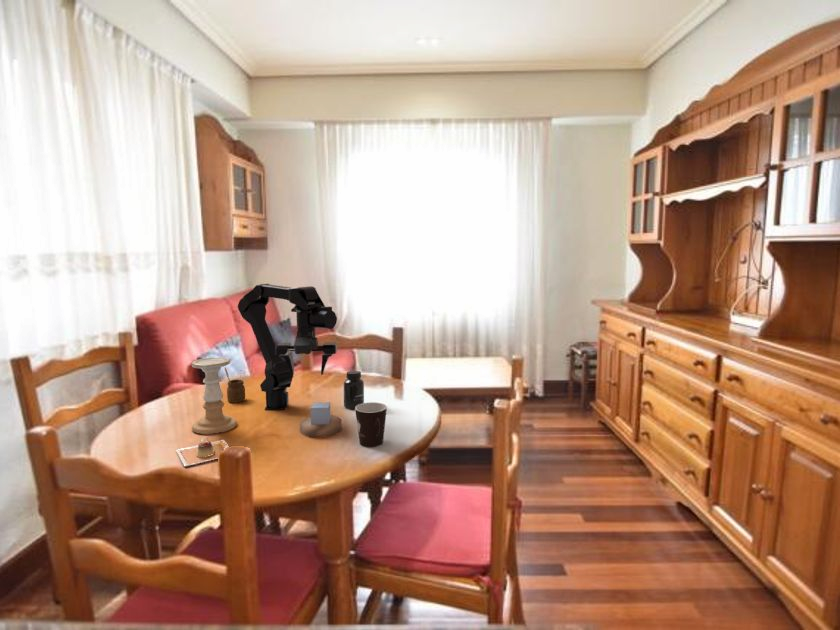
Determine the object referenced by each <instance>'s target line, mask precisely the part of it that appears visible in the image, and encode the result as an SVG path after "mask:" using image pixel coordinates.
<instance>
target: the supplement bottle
mask: <svg viewBox="0 0 840 630" xmlns="http://www.w3.org/2000/svg"><path fill="white" fill-rule="evenodd" d="M345 377H346V379H345V380H344V381H343V406H344V408H345V409H348V410H355V407H356V406H357V405H359V404H363V403H365V382H364V380H363V379H362V371H360V370H348V371H346V376H345Z"/></svg>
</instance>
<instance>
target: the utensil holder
mask: <svg viewBox="0 0 840 630" xmlns="http://www.w3.org/2000/svg"><path fill="white" fill-rule="evenodd" d="M224 371H225V374H226V377H227V379H228V381H227V388H226V395H227V396H226V399H227V402H228V403H232V404H236V403H241V402H244V401H245V400H246V387H245V385H244V380H243V379H244V376H241V375H242V374H245V371H243V369H240V370H238V371H237V375H239V374H240V375H239V376H240V377H239V376H236V379H230V377H229V373H228V370H227V367H225V366H224ZM241 371H242V372H241ZM241 377H242V378H241ZM239 378H241V379H239Z"/></svg>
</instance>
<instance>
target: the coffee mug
mask: <svg viewBox="0 0 840 630" xmlns="http://www.w3.org/2000/svg"><path fill="white" fill-rule="evenodd" d="M387 409H388V406H387V405H386V404H385V403H381V402H373V401H372V402H364V403H363V404H359V405H357V406H356V407H355V409H354V410H355V412H354V413H355V418H356V427H357V432H358V440H359V445H360V446H362V447H363V448H378V447H379V446H382V445H383V444H384V436H385V428H386V427H385V426H386V420H387V419H386V418H387V411H388V410H387Z"/></svg>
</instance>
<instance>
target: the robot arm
mask: <svg viewBox="0 0 840 630" xmlns="http://www.w3.org/2000/svg"><path fill="white" fill-rule="evenodd" d="M270 298H273V299H279V300H280V299H281V300H285V301H288V302H289V303H290V304H292V305H294V307H293V308H291V309H290V312H292V313H296V337H295V340H294V343H293V345H292V344H291V343H292V342H279V343H278V344H277V345H276V342H275V341H274V338H273V336H272V332H271V331H270V329H269V326H268V323H267V321H266V317H267V316H266V315H267V308H266V306H267V305H268V304H269V302H270ZM237 310H238V311H239V312H238V313H239V314H240V316H241V317H242V319H243V320H245V322H247V323H248V324H249V325H250V326H251V329H252V331H253V334H254V337H255V339H256V342H257V344H258V347H259V349H260V353H261V355H262V357H263V359H264V362H265V368H264V376H265V379H263V381H262V382H261V383H260V384H259V385H260V391H261V392H264V393H265V408H264V410H265V411H266V410H276V411H277V410H285V409H286V408H287V407H288V405H289V404H290V403H289V392H288V391H287V388H291V386H292V385H291V384H292V381H293V378H294V375H295V365H294V355H293V352H294V354H295V355H301V354H302V355H303V354H305V355H309V354H311V353H312V352H323V353H322V355H321V369H320V373H321V376H322V375H324V372H325V369H326V365H327V362H328V360H329V358H330V357H332V356H333V355H335V354H337V352H338V343H337V342H335V341H333V342H332V341H331V342H329V341H328V342H324V343H323V344H320V345H319V340H318V337H316V335H317V334H316V328H317V329H325V330H326V329H327V330H332V329H334V328H335V327H336V325H337V321H338V319H337V318H338V317H337V315H336V312H335V311H334V310H333V307H332V306H326V305H325V304H324V302H323V300H322V298H321V297H320V295H319V293H318V291H317V289H316V287H315V286H298V287H289V286H282V285H275V284H269V283H259V284H256V285H255V286H254V287H253V288H252V290H250V291H248V292H247V293H246V294H245V295H243V297H242V298H240V300H239V302H238V303H237Z"/></svg>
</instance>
